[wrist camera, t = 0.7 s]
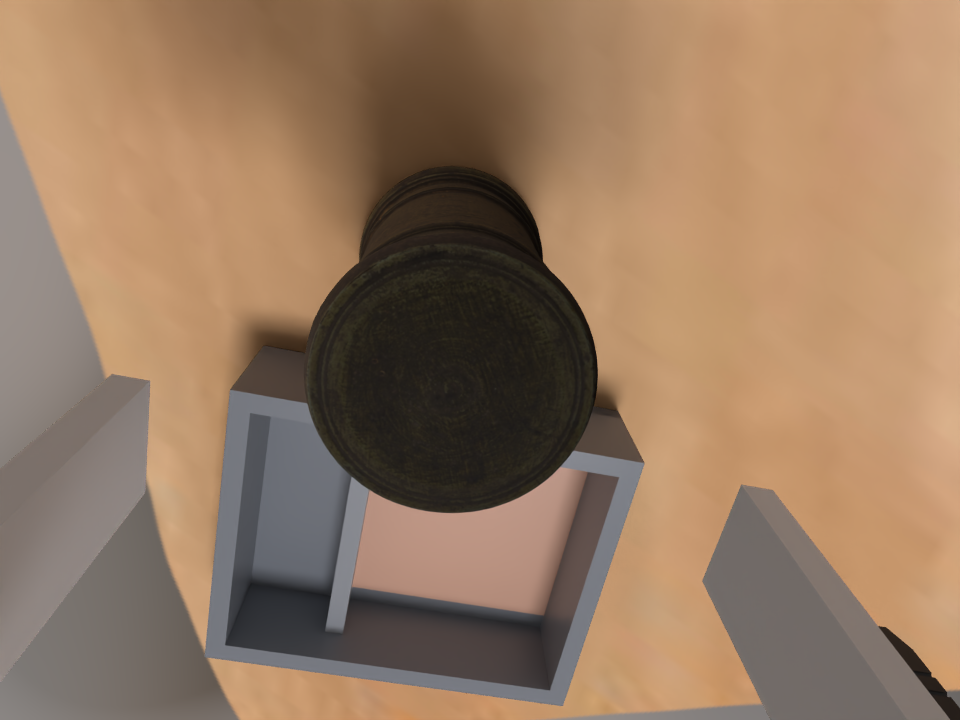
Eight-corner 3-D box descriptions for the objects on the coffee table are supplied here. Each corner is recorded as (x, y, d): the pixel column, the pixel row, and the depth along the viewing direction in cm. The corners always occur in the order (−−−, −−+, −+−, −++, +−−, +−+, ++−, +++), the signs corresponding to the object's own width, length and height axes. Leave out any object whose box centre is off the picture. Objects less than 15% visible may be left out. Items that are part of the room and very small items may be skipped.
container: (329, 240, 36) (217, 372, 19) (465, 125, 34) (474, 156, 17) (441, 366, 38) (430, 579, 22) (573, 265, 37) (673, 412, 20)
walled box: (263, 345, 38) (230, 389, 32) (617, 411, 40) (644, 463, 34) (237, 583, 43) (204, 656, 37) (549, 630, 45) (562, 705, 40)
